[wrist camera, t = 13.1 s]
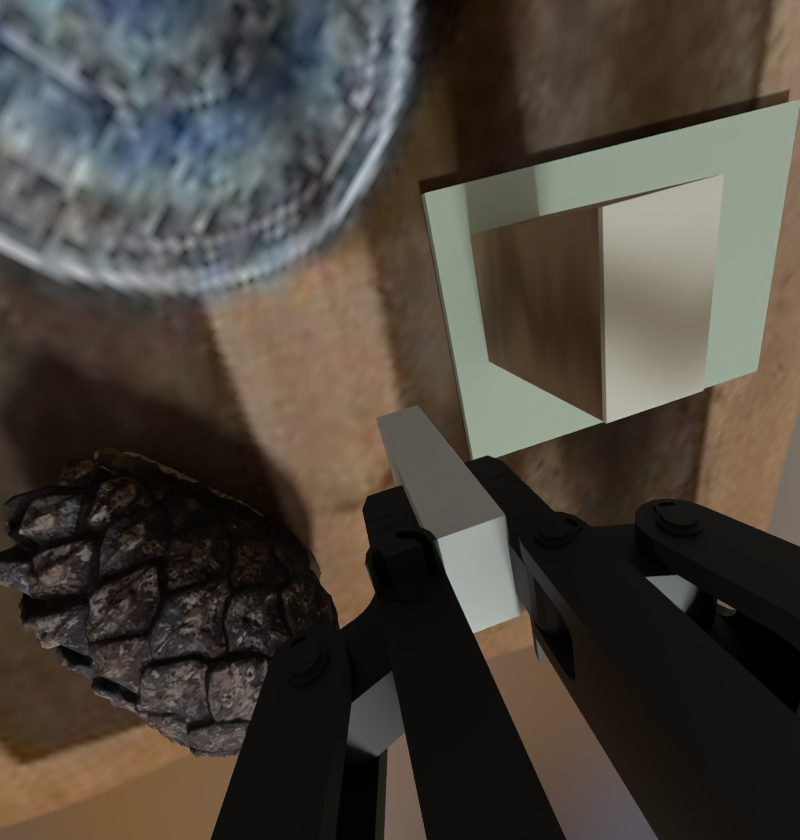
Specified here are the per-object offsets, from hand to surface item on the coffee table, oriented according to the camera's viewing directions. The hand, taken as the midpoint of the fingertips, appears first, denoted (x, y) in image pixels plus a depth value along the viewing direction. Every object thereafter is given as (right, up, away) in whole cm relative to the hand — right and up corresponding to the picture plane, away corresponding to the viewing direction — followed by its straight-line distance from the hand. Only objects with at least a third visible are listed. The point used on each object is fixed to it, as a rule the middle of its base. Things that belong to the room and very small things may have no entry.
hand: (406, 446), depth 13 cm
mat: (+13, +9, +10) cm, 19 cm away
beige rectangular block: (+6, +8, +8) cm, 13 cm away
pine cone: (-13, -7, +11) cm, 18 cm away
